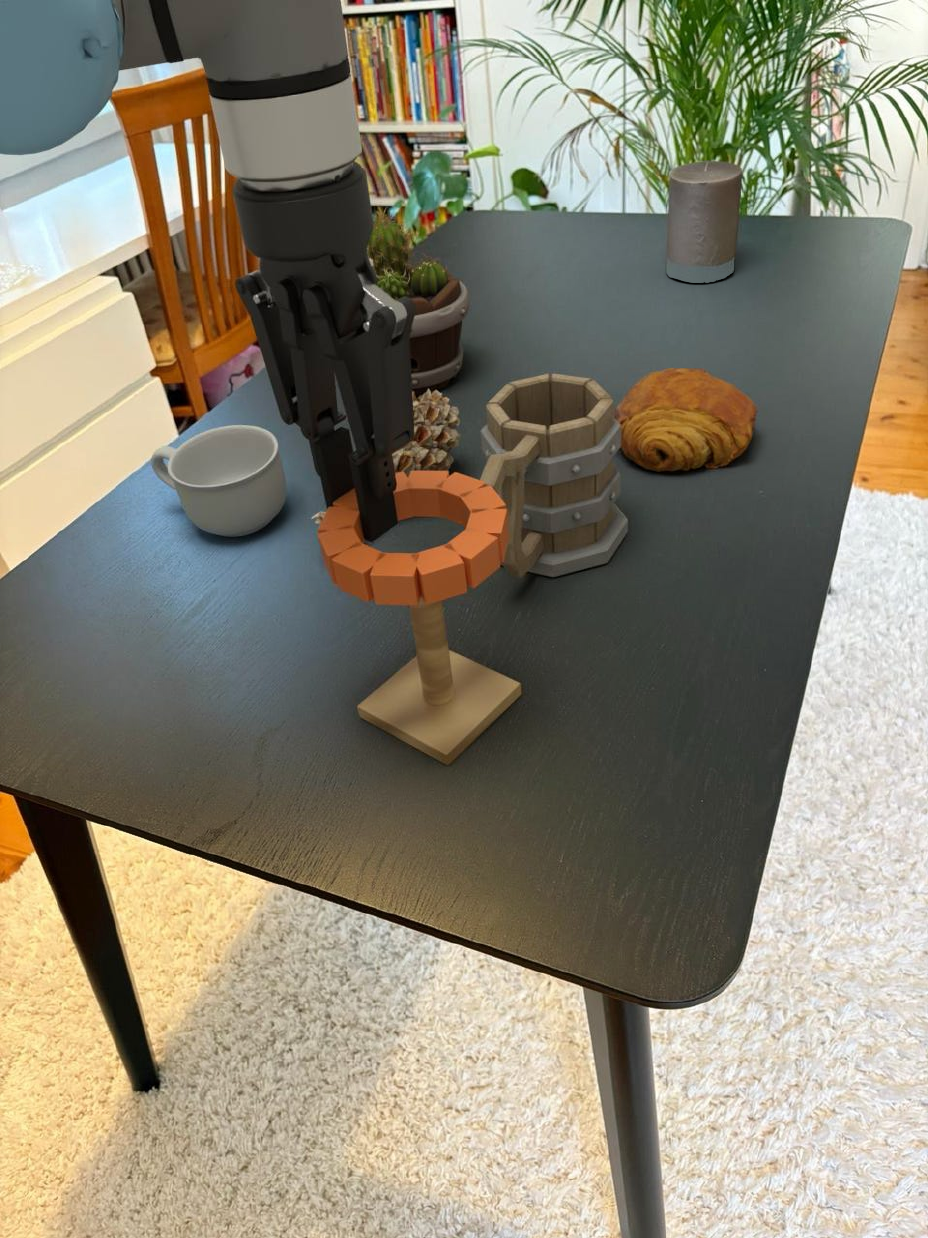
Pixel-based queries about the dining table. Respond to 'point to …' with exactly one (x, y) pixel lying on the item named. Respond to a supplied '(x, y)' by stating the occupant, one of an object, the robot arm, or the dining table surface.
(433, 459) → the pine cone
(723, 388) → the croissant
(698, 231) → the pillar candle
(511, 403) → the tankard
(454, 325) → the flowerpot
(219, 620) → the dining table surface
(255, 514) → the teacup
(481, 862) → the dining table surface
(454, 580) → the ring
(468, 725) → the rack
